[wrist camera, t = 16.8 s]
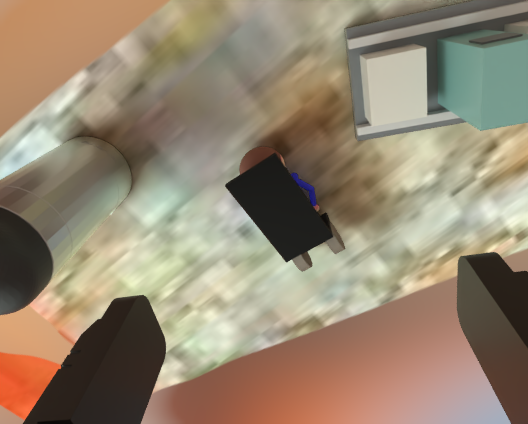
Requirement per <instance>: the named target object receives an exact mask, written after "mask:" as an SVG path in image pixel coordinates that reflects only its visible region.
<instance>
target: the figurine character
mask: <svg viewBox="0 0 528 424" xmlns="http://www.w3.org/2000/svg"><path fill="white" fill-rule="evenodd" d="M299 186H300V187H302V188H304V189H306V190H308V191H309V197H310V201H309V200H308V198H307V197H306V195H305V194H304V193H303V191H302V190H301V188H300V187H299ZM225 187H226V188H227V189H228V190H229V192H230V193H231V194H232V195H233V197H234V198H235V199H236V200H237V202H238V203H239V204H240V205H241V207H242V208H243V209H244V210H245V212H246V213H247V214H248V215H249V217H250V218H251V219H252V220H253V222H254V223H255V224H256V225H257V226H258V228H259V229H260V230H261V231H262V233H263V234H264V235H265V236H266V238H267V239H268V240H269V241H270V243H271V244H272V245H273V246H274V248H275V249H276V250H277V251H278V253H279V254H280V255H281V256H282V258H283V259H284V260H285V261H286V262H288V261H290V260H293V262H294V263H295V265H296V266H297V267H298V269H299V270H301V271H305V270H307V269H308V268H310V267H312V261H311V258H310V256H309V254H308V252H307V251H309V250H310V249H312V248H314V247H316V246H318V245H320V244H321V243H323V242H325V241H326V243H327V244H328V246H329V247H330V249H331V250H332V251H333V252H334V253H335V254H337V253H339V252H340V251H342V250H344V249H345V246H344V243H343V241H342V239H341V237H340V235H339V234H338V232H337V230H336V229H335V227H334V226H333V225H332V223H331V222H330V221H329V217H328V215H327V213H324V214H322V215H321V216H320V215H319V214H318V211H319V205H317V203H316V197H315V191H314V187H313V186H311V185H309V184H308V183H306V182H304V181H302V180H300V179H299V178H298V175H297V174H296V173H292V174H290V173H289V171H288V170H287V168H286V167H285V162H284V160H283V158H282V156H281V155H280V154H279V153H278V152H277V151H276V150H274V149H272V148H270V147H257V148H254V149H252V150H250V151H249V152H248V153H246V154H245V156H244V157H243V159H242V161H241V163H240V175H239V176H237V177H236V178H234V179H233V180H231V181H230V182H228V183H227V184H226V185H225Z"/></svg>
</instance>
